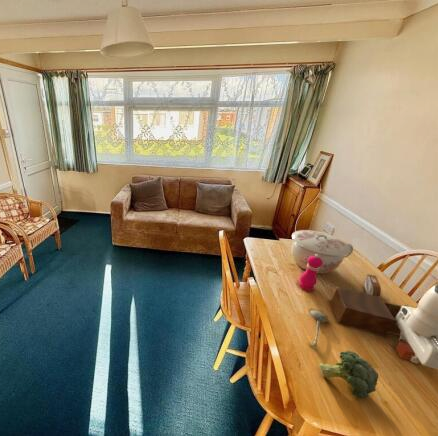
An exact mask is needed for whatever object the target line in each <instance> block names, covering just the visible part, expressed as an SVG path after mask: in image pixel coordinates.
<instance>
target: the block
mask: <svg viewBox="0 0 438 436" xmlns="http://www.w3.org/2000/svg"><path fill="white" fill-rule="evenodd" d="M395 350H396V352H397V353H398V356H399V357H400V358H401V359H403V360H408V361H410V362H411V360H410V359H409V357H410V356H411V355H412V356H415V352H414V351H413V349H412V348H411V346H410V345H409V343H408V344H407V343H404V342H399V343H398V344H397V345H396V347H395Z"/></svg>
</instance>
